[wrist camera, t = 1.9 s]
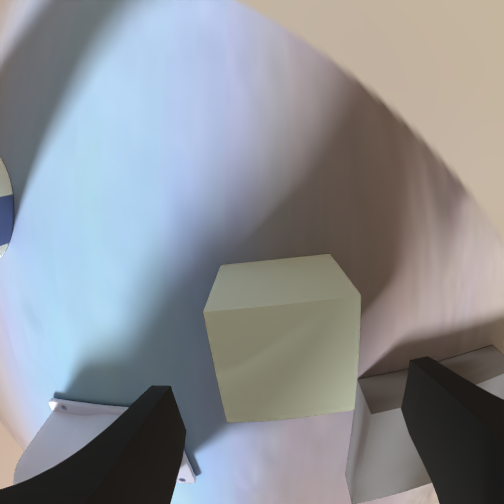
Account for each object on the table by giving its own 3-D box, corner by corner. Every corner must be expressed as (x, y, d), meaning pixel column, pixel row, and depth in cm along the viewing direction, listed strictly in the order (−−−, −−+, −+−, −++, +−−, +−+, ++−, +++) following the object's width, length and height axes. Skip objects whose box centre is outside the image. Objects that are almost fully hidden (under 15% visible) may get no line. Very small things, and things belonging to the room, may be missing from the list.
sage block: (235, 355, 16) (227, 422, 11) (221, 264, 15) (203, 311, 10) (331, 345, 16) (354, 409, 11) (329, 253, 14) (360, 295, 10)
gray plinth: (345, 474, 19) (351, 504, 16) (357, 379, 16) (371, 414, 13) (457, 442, 18) (471, 466, 15) (492, 344, 16) (516, 367, 13)
